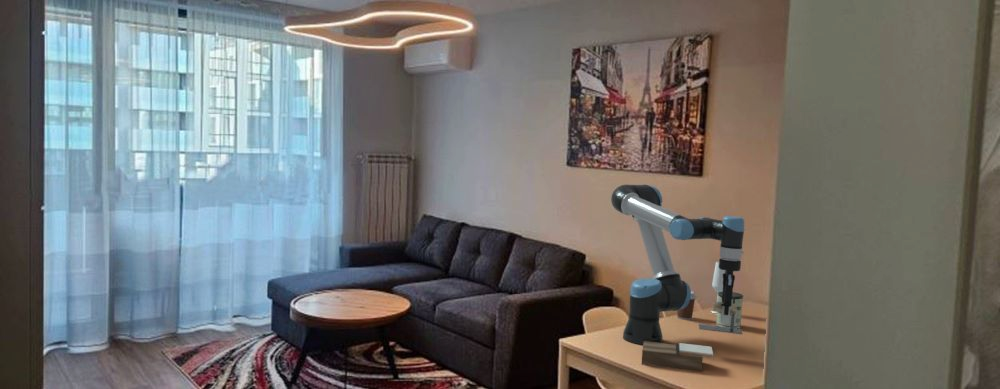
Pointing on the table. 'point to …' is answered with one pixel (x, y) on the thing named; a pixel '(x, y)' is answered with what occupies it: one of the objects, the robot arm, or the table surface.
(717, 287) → the champagne flute
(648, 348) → the flip board
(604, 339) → the table surface
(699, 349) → the tile
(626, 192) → the robot arm
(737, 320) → the coffee can
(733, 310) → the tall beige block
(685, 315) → the coffee cup
